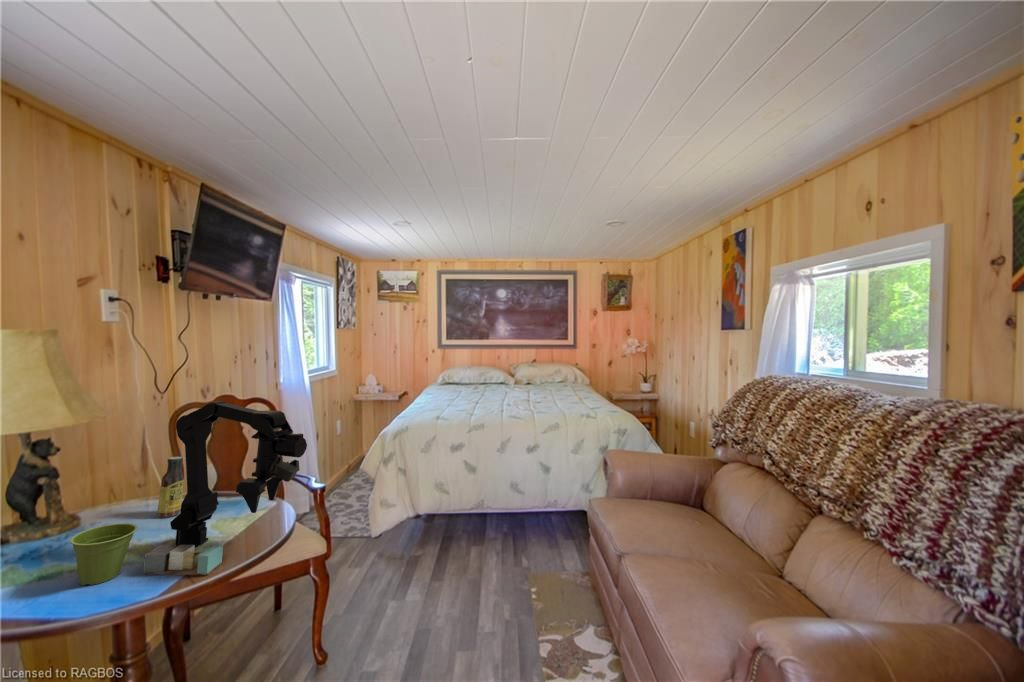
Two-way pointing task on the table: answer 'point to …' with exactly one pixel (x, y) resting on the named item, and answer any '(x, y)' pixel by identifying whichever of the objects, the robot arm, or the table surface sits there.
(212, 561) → the turquoise rectangular block
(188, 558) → the cream rectangular block
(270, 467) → the robot arm
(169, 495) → the sauce bottle
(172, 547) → the dark grey cube
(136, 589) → the table surface
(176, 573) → the board
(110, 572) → the plant pot
